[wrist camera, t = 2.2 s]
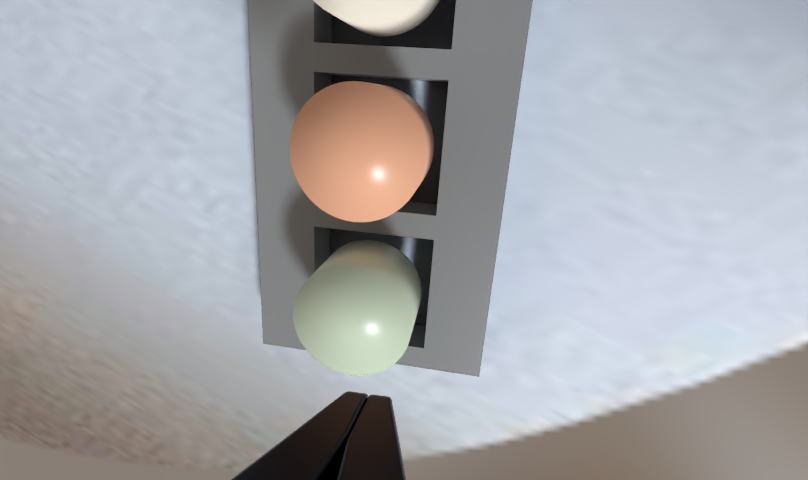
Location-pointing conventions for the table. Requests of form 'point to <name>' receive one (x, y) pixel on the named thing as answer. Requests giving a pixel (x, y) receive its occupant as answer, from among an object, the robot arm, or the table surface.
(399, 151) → the terracotta button
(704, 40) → the table surface
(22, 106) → the table surface
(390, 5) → the cream button
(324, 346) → the sage button
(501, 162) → the button panel
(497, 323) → the table surface
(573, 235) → the table surface
